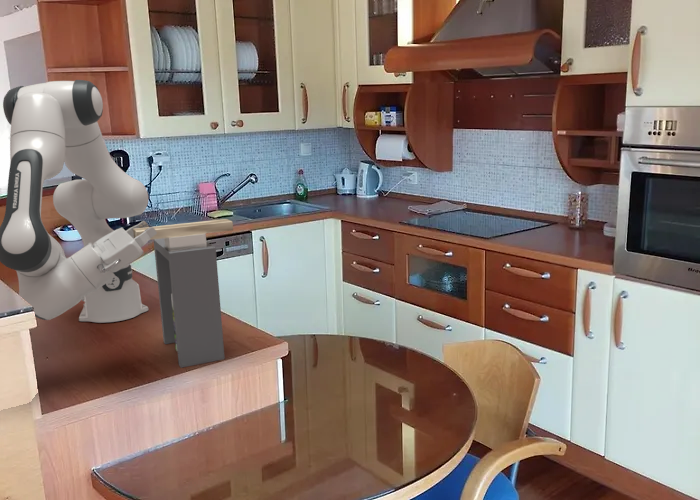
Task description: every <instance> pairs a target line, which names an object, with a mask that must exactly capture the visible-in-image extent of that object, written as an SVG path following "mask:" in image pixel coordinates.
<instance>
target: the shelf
mask: <svg viewBox="0 0 700 500" xmlns="http://www.w3.org/2000/svg"><path fill="white" fill-rule="evenodd" d="M206 244H207V247H204V248H196V249H188V250H179V251H171V252H170V251H169V250H168V249H167V248H165V241H164V238H162V239H153V246H154V247H153V248H154V259H155V266H156V267H155V268H156V277H157V288H158V298H159V307H160V308H159V309H160V317H161V319H160V321H161V329H162V338H163V340H162V341H163V343H164V345H167V344H168V345H169V344H175V335H174V323H173V311H172V300H171V294H172V299H173V309H174V320H175V330H176V340H177V351H176V352H177V360H178V361H177V362H178V366H179V367H180V368H186V367H192V366H197V365H202V364H206V363H212V362H216V361H222V360H226V357H225V347H224V334H223V323H222V322H223V321H222V310H221V299H220V298H221V297H220V295H221V294H220V286H219V285H220V284H219V273H218V270H219V269H218V259H217V249H216V247H215V246H214V245H212V244H211V243H209V242H207V241H206Z"/></svg>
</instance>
